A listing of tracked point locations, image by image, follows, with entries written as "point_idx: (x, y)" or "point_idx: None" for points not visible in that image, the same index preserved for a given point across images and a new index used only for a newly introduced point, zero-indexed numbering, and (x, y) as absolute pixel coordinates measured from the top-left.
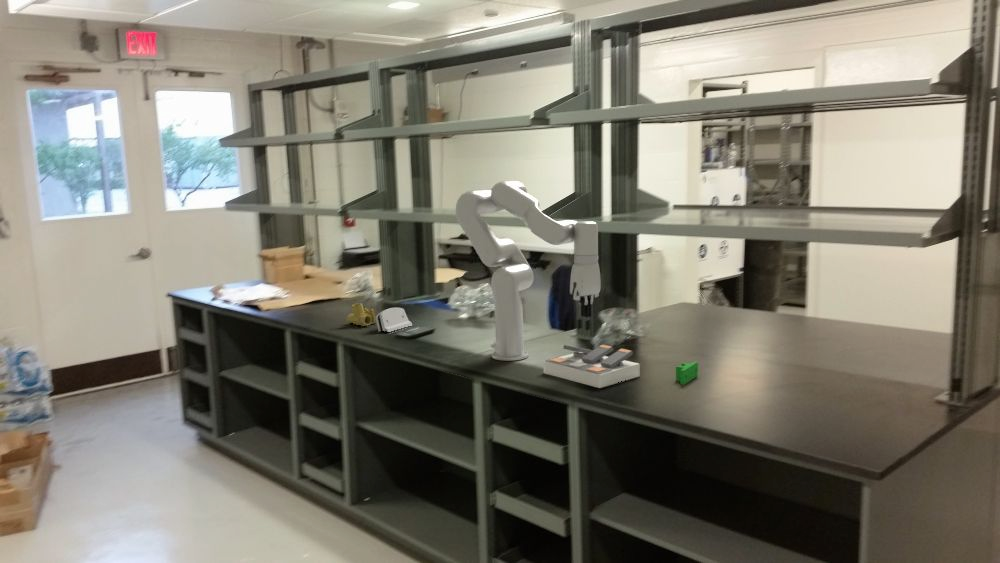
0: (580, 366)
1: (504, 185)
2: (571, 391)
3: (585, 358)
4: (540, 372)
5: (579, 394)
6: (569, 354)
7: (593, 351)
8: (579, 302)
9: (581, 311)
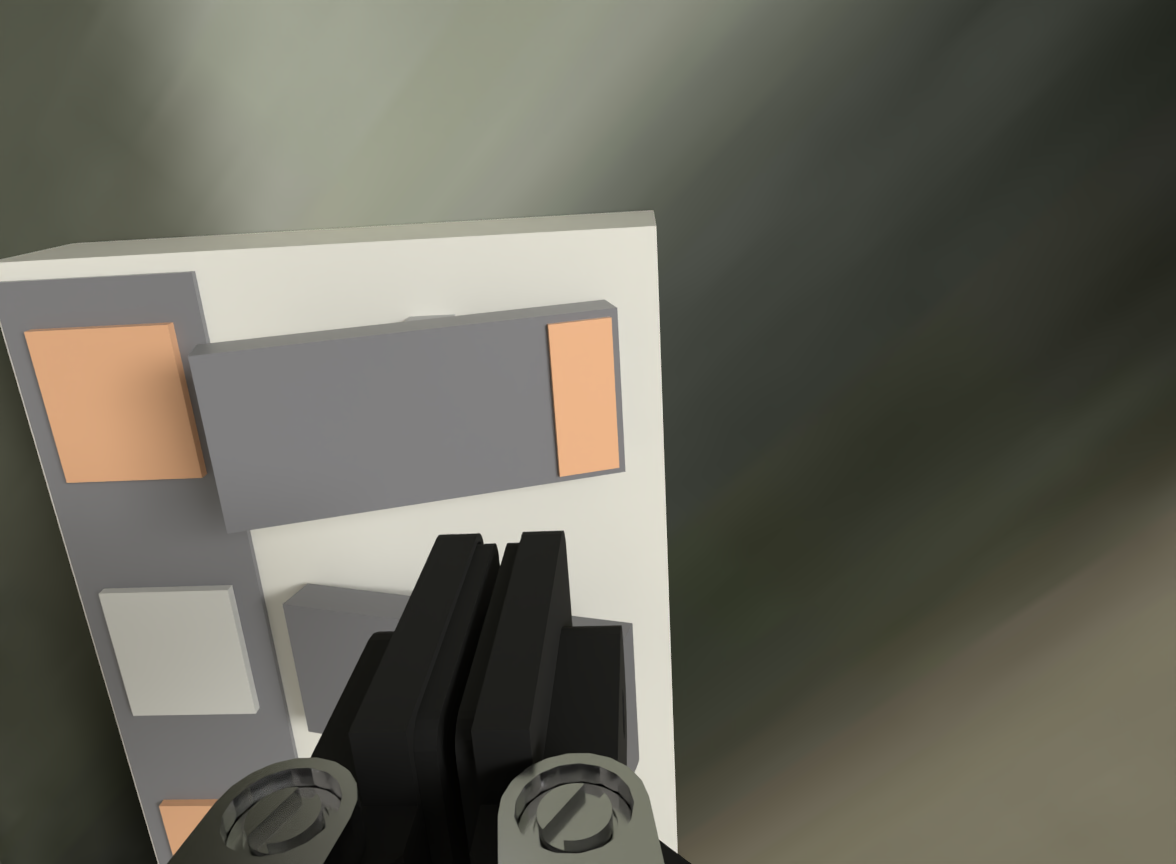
0: (169, 711)
1: None
2: (12, 775)
3: (297, 654)
4: (59, 195)
5: (25, 848)
6: (407, 240)
7: None
8: (211, 825)
9: (364, 667)
